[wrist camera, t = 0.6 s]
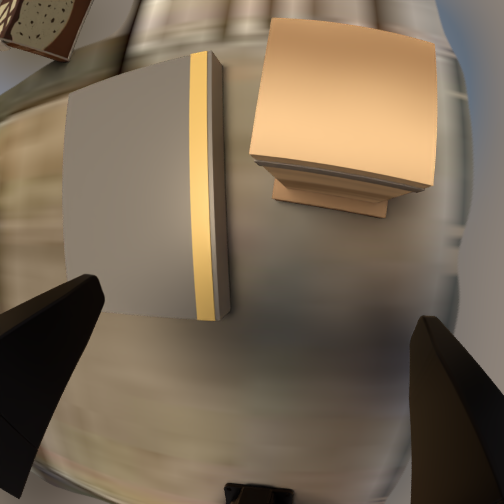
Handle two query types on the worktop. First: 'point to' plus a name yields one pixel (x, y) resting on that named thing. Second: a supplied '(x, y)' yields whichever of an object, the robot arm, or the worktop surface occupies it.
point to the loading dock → (150, 189)
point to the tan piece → (345, 115)
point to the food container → (42, 26)
